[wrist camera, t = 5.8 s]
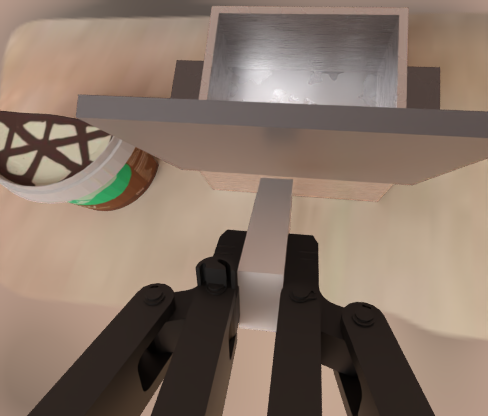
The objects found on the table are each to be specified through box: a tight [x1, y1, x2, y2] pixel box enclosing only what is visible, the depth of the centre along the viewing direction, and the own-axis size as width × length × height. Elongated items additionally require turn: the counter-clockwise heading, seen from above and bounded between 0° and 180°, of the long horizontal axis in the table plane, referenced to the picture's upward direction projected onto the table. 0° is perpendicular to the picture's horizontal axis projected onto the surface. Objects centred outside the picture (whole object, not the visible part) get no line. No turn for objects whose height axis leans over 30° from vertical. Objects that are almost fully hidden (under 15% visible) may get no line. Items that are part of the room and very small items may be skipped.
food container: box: [0, 111, 158, 211], centre depth 31 cm, size 12×6×10 cm, turn 80°
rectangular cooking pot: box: [171, 6, 440, 202], centre depth 31 cm, size 19×12×8 cm, turn 84°
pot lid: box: [76, 95, 488, 185], centre depth 19 cm, size 15×12×1 cm
